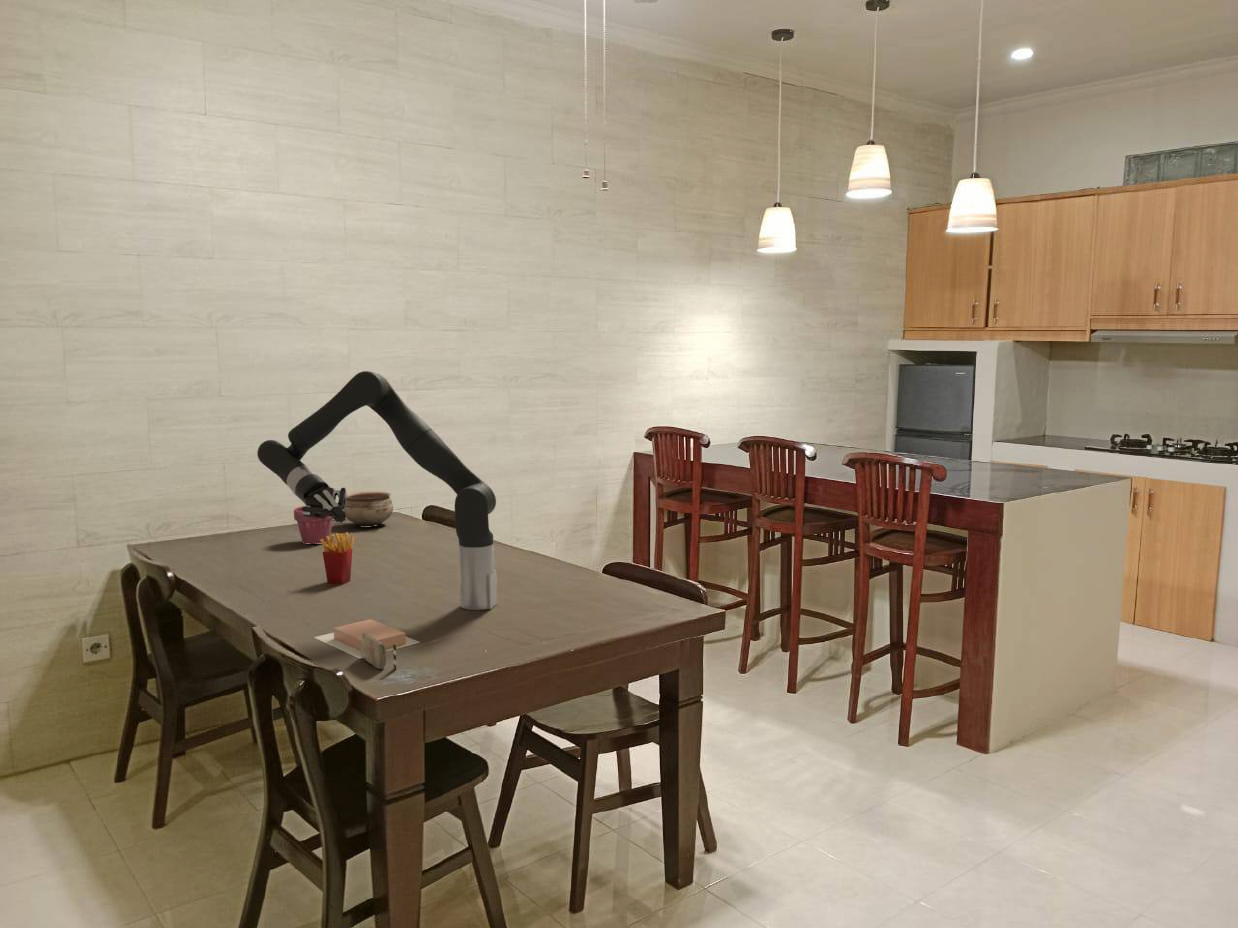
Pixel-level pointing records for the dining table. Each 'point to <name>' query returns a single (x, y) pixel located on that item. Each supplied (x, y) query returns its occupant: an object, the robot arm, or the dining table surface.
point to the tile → (379, 631)
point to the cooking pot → (368, 508)
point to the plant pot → (313, 527)
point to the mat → (352, 650)
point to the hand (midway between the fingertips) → (342, 518)
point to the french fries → (338, 559)
